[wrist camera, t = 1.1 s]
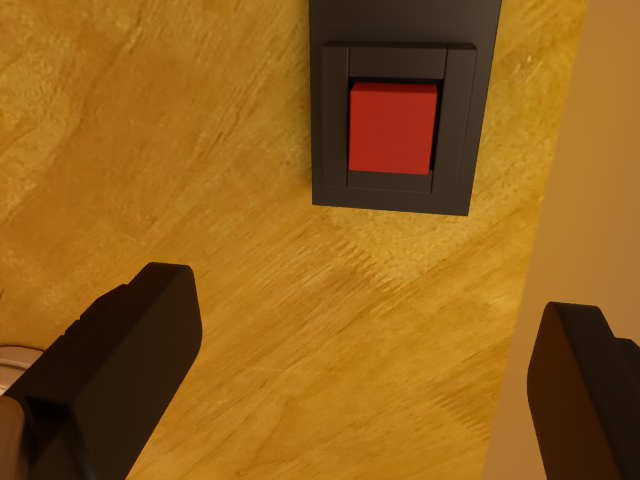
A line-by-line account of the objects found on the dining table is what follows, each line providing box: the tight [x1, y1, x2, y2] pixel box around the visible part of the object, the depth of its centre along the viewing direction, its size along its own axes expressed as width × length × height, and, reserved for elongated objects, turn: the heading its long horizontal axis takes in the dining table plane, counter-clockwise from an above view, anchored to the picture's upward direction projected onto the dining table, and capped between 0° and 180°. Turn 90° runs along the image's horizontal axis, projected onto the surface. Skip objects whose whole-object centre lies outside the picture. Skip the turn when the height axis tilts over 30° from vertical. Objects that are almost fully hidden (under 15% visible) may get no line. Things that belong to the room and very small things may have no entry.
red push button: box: [309, 0, 502, 216], centre depth 23 cm, size 10×8×4 cm
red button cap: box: [349, 82, 437, 174], centre depth 21 cm, size 3×3×2 cm
